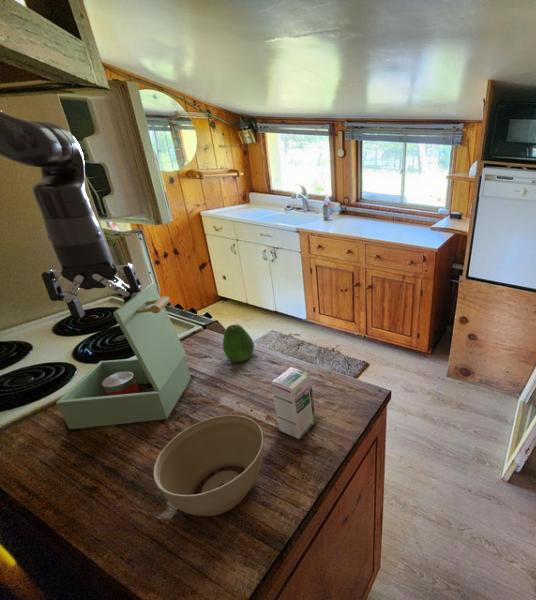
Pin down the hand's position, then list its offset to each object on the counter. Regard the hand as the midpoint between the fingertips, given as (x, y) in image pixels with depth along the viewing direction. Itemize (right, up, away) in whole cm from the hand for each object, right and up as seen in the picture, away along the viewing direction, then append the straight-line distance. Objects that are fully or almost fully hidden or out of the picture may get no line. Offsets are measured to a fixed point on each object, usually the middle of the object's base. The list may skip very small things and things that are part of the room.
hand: (106, 313), depth 69 cm
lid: (+8, -5, +3) cm, 10 cm away
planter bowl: (+31, -32, -10) cm, 46 cm away
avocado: (+16, -15, +26) cm, 34 cm away
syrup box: (+40, -26, +4) cm, 48 cm away
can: (-2, -22, +8) cm, 23 cm away
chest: (0, -22, +9) cm, 24 cm away
